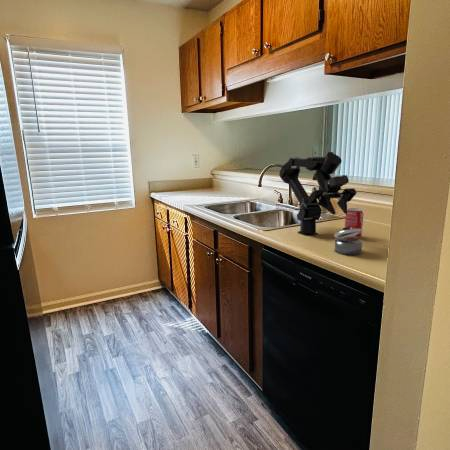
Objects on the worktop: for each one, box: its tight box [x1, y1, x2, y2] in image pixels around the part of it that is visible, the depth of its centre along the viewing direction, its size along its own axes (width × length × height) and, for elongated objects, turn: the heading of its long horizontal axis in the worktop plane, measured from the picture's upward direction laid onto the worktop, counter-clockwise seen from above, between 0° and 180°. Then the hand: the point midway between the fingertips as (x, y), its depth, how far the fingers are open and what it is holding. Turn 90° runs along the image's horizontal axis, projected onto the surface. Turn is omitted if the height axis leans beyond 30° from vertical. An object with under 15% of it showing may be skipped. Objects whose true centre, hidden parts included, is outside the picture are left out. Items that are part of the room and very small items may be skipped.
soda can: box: [344, 207, 364, 239], centre depth 144 cm, size 7×7×12 cm
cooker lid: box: [333, 226, 363, 239], centre depth 124 cm, size 10×10×3 cm
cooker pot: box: [334, 237, 363, 257], centre depth 124 cm, size 9×9×4 cm
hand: (340, 213), depth 127 cm, fingers open, 5 cm apart
